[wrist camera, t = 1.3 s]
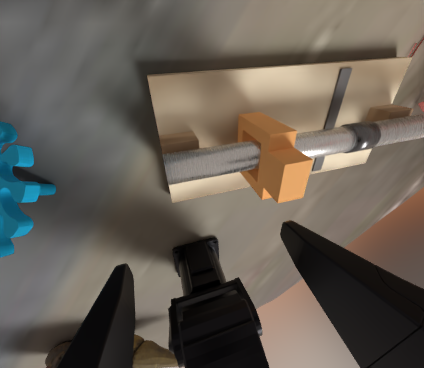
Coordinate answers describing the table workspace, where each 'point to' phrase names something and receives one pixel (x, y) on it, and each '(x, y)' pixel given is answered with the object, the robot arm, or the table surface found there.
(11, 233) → the gear
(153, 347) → the brown carved figurine
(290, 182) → the collar
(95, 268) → the table surface
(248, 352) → the robot arm
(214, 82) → the tube stand
